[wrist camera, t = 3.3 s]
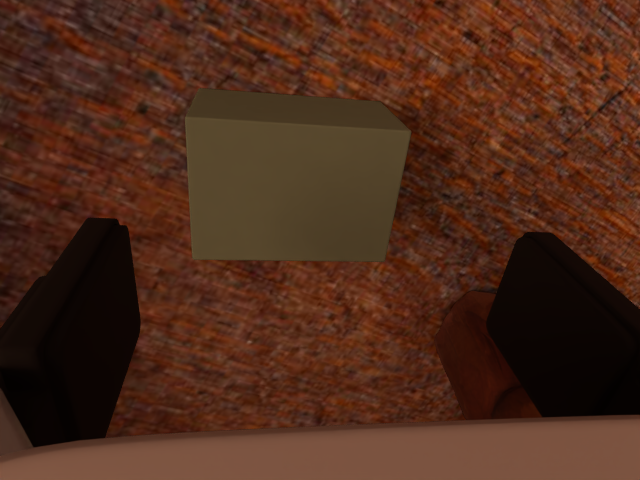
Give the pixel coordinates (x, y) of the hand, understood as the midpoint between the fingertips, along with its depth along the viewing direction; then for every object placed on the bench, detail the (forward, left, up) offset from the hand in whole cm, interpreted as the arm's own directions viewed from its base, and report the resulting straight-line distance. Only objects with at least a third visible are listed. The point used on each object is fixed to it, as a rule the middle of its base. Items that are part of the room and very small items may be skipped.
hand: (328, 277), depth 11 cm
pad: (0, 0, -9) cm, 9 cm away
